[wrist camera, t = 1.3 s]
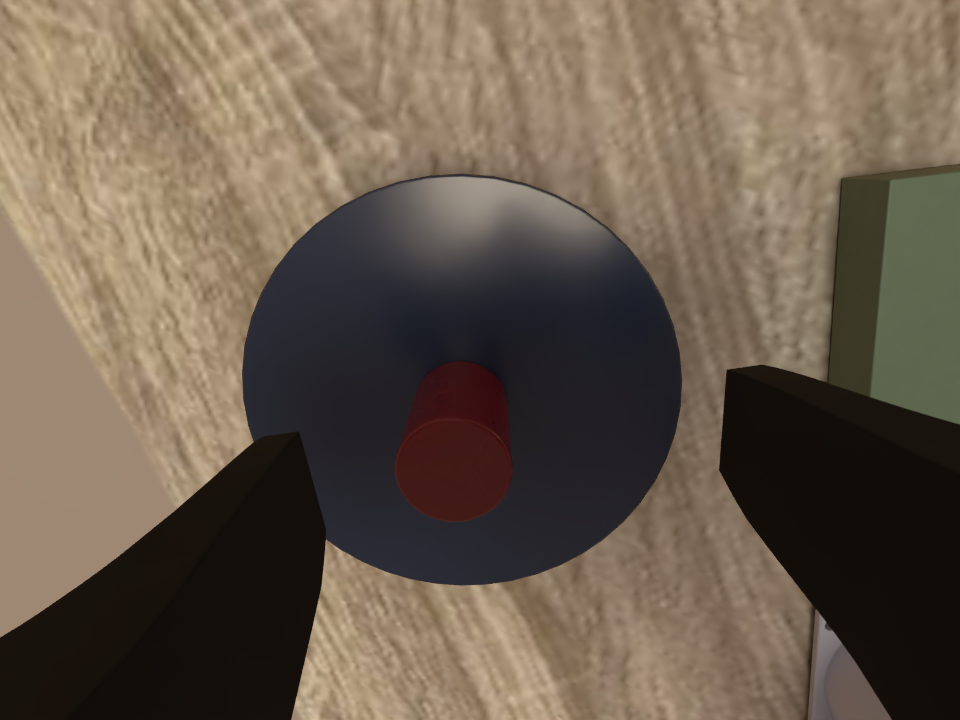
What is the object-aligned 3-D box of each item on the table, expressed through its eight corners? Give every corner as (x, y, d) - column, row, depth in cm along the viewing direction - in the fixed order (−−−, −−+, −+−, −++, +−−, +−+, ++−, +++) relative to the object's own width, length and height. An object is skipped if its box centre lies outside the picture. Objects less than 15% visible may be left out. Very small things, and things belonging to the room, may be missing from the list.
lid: (673, 544, 18) (735, 670, 13) (305, 577, 18) (246, 709, 14) (666, 146, 14) (746, 136, 10) (210, 202, 15) (91, 218, 10)
